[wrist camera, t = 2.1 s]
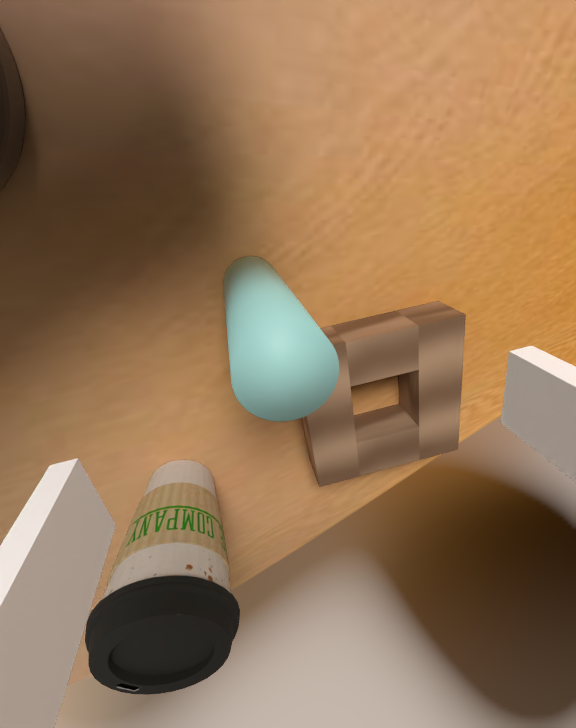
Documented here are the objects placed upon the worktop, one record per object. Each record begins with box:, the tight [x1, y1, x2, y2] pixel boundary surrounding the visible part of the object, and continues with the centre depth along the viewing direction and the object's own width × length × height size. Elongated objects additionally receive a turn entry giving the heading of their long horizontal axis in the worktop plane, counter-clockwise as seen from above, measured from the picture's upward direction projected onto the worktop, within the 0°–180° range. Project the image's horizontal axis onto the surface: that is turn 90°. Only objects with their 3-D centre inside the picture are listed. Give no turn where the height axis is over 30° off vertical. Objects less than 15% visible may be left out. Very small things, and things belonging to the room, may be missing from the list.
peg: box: [223, 256, 339, 422], centre depth 22 cm, size 4×4×16 cm
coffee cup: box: [85, 460, 240, 694], centre depth 29 cm, size 10×10×15 cm
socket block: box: [302, 301, 466, 487], centre depth 33 cm, size 14×14×4 cm
